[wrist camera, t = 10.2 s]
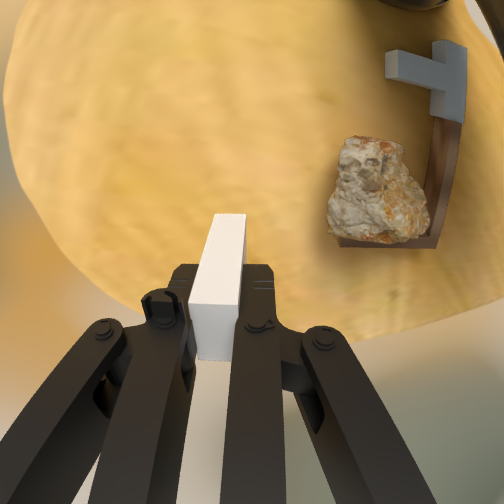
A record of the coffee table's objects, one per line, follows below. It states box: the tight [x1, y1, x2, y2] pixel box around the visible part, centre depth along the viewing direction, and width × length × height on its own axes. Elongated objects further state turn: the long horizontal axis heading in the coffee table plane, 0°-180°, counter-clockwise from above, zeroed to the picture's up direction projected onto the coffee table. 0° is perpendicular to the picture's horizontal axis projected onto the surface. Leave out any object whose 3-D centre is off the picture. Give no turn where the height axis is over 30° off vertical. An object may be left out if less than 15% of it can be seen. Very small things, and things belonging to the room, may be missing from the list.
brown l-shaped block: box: [334, 116, 462, 249], centre depth 28 cm, size 15×12×4 cm
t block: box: [385, 40, 467, 124], centre depth 22 cm, size 9×9×3 cm
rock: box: [326, 135, 430, 244], centre depth 26 cm, size 12×10×10 cm
